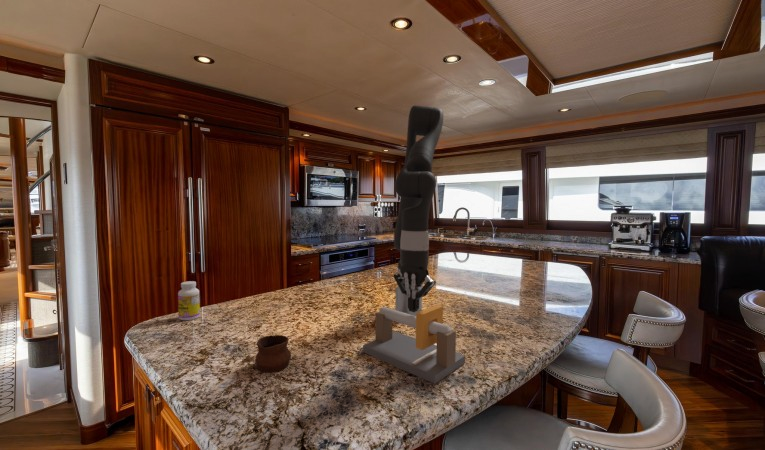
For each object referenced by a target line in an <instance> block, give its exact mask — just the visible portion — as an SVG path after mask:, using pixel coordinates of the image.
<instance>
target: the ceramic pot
mask: <svg viewBox="0 0 765 450" xmlns="http://www.w3.org/2000/svg"><path fill="white" fill-rule="evenodd" d="M289 341H290V340H289V337H288V336H285V335H283V334H282V335H280V334H277V335H266V336H262V337H260V338H258V340H257V343H256V345H257V349H258V351H257V352H256V356H255V361H254V362H255V366H256V368H257V370H258V371H261V372H264V373H276V372H279V371H283V370H285V369H287V368H288V366H289V364H290V361H291V358H292V354H291V351H290V349H289V348H288V342H289ZM234 373H235V374H236V377H237V378H238V379H241V377H240V376H241V375H240V372H239V371H238V369H237V368H236V370H235V372H234Z"/></svg>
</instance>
